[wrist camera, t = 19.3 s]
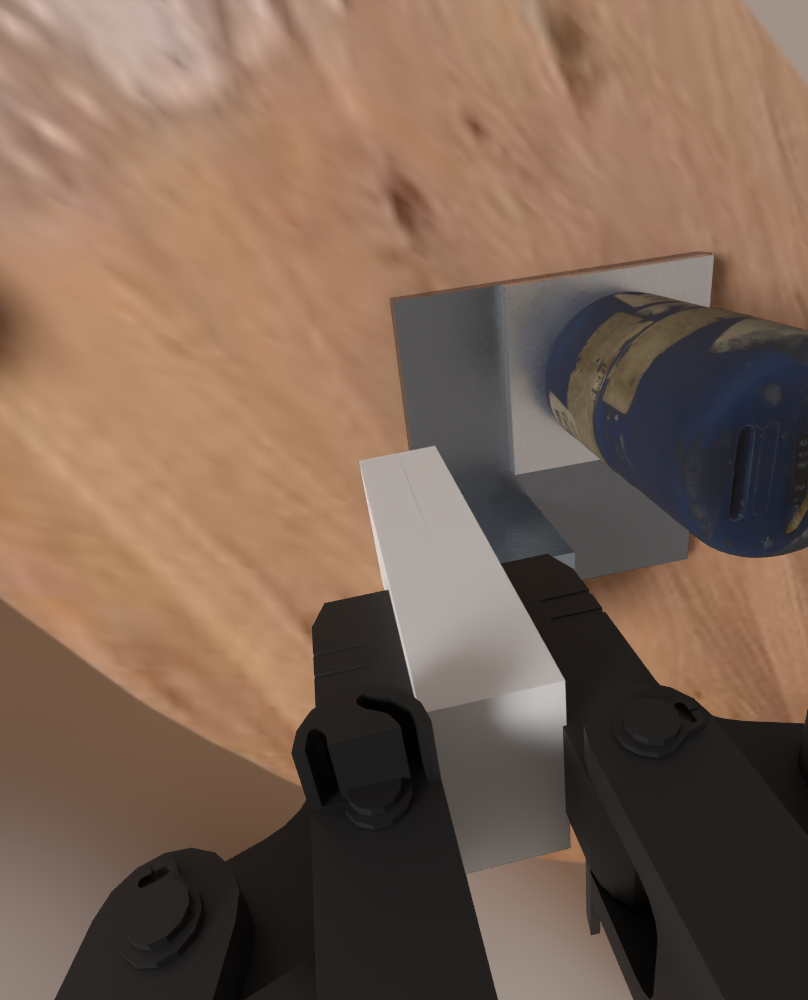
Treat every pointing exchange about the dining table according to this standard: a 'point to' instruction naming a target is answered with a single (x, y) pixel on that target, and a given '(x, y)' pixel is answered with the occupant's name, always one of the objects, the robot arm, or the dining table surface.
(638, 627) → the dining table surface
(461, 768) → the robot arm
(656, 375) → the canister
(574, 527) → the grey l-shaped stand
